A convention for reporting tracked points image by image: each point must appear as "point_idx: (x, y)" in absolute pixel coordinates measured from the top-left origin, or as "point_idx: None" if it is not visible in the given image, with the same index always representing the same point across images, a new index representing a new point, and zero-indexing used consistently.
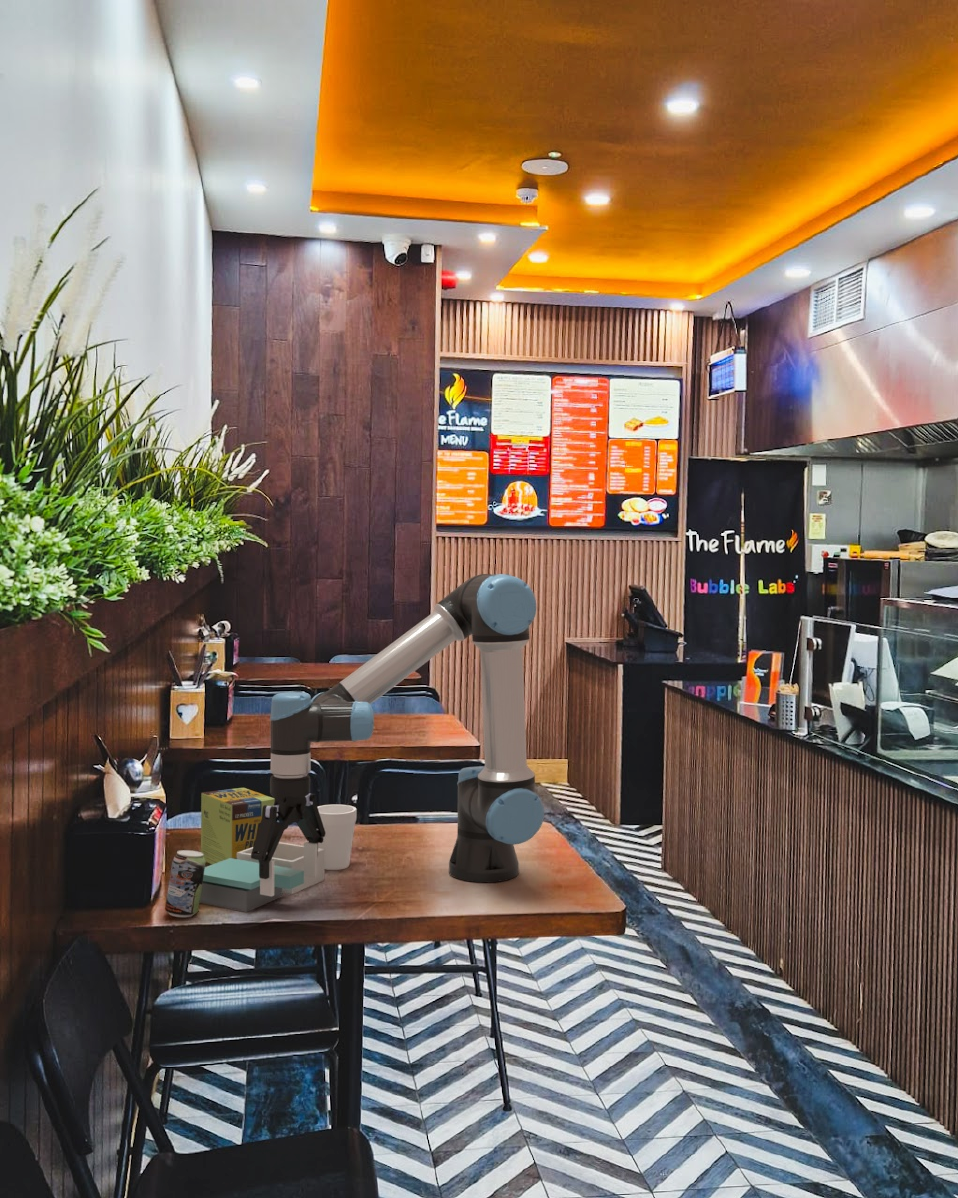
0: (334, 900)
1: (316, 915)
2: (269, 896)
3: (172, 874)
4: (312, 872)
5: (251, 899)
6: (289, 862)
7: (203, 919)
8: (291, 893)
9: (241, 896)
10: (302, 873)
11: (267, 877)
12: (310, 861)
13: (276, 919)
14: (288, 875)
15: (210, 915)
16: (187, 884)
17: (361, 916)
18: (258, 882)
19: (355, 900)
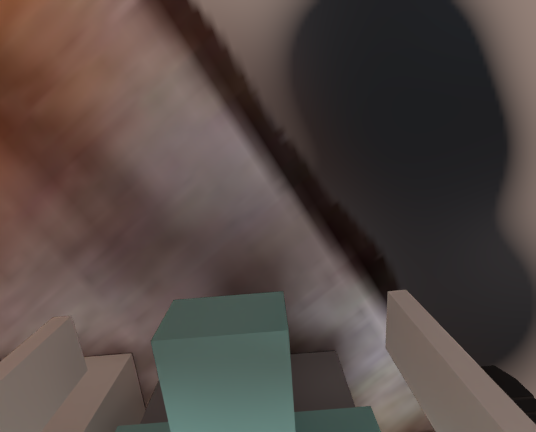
0: (60, 229)
1: (217, 179)
2: None
3: None
4: (59, 343)
5: (320, 386)
6: None
7: (417, 409)
8: (127, 364)
9: None
10: (167, 332)
11: (485, 371)
12: (16, 404)
13: (320, 260)
14: (273, 351)
15: (383, 416)
16: None
17: (121, 21)
18: (327, 427)
19: (4, 167)
